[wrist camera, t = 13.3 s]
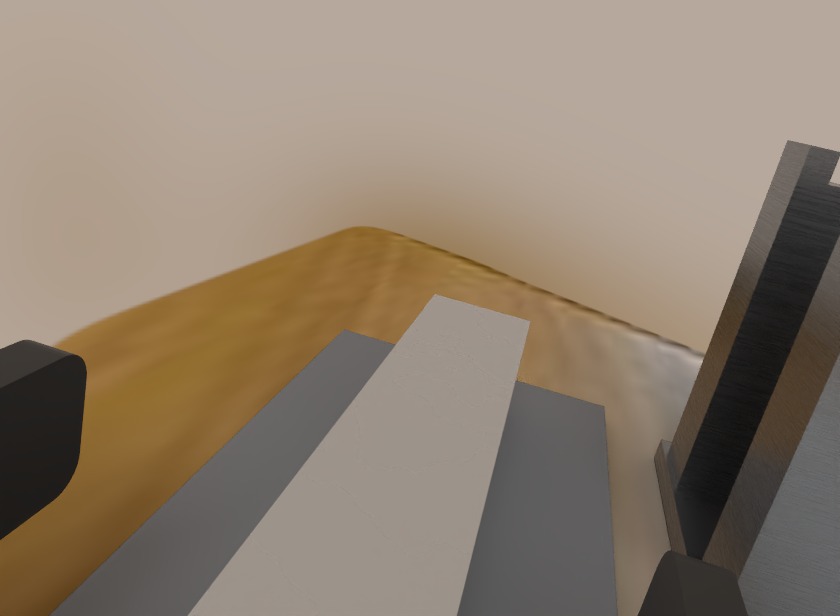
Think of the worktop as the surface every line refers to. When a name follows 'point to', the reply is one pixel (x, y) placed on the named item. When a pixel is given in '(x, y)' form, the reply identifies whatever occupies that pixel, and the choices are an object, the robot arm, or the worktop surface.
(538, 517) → the mat
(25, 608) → the worktop surface
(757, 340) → the rack
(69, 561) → the worktop surface
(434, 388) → the rail
